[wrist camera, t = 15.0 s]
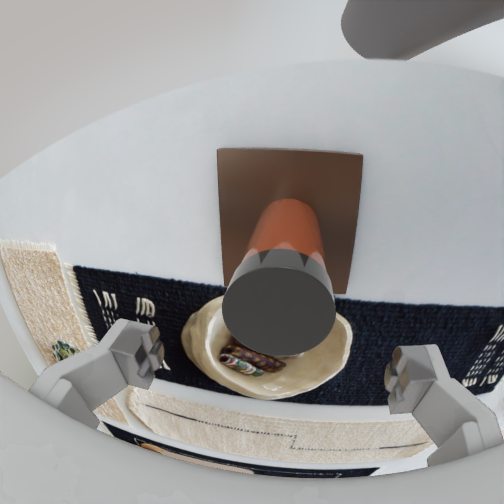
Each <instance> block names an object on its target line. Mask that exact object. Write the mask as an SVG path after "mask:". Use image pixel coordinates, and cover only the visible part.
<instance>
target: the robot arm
mask: <svg viewBox="0 0 504 504" xmlns="http://www.w3.org/2000/svg"><path fill="white" fill-rule="evenodd" d="M159 335H160V333H159V330H158V327H155V326H152V325H148V324H143V323H139V322H134V321H129V320H125V319H119V320H117V321H116V322H115V323H114V325H113V326H112V327H111V329H110V330H109V331H108V332H107V334H106V335H105V336H104V338H103V339H102V340H101V341H100V343H99V344H98V345H97V346H92V347H89V348H87V349H85V350H83V351H81V352H79V353H77V354H75V355H73V356H71V357H68V358H66V359H64V360H62V361H60V362H58V363H56V364H54V365H51V366H49V367H47V368H45V370H44V371H43V372H42V373H41V375H40V376H39V377H38V379H37V380H36V381H35V382H34V384H33V385H32V386H31V388H30V389H29V390H28V391H27V390H25V389H24V388H23V387H21V386H20V385H18V384H17V383H16V382H14V381H13V380H11V379H10V378H9V377H7V376H6V375H5V374H3V373H2V372H1V371H0V504H504V440H503V437H502V433H501V430H500V427H499V424H498V421H497V418H496V415H495V413H494V412H493V411H492V410H491V409H489V408H488V407H487V406H486V405H485V404H484V403H483V402H481V401H480V400H479V399H478V398H477V397H475V396H474V395H473V394H472V393H471V392H470V391H468V390H467V389H466V388H465V387H464V386H462V385H461V384H460V383H459V382H458V381H457V380H455V379H454V378H453V379H451V378H450V376H449V373H448V370H447V368H446V365H445V363H444V360H443V358H442V356H441V353H440V351H439V348H438V346H437V345H435V344H433V345H416V346H397V347H396V348H395V350H394V352H393V358H394V359H393V360H392V361H391V362H389V363H388V366H387V368H386V372H385V387H386V389H387V390H388V391H389V392H390V393H391V394H390V396H389V397H388V404H389V410H390V414H402V413H412V415H413V416H414V418H415V419H416V420H417V421H418V423H419V424H420V425H421V426H422V428H423V429H424V430H425V431H426V433H427V434H428V435H429V437H430V438H431V439H432V440H433V442H434V443H435V444H436V445H437V447H438V449H437V450H436V451H434V452H433V453H432V454H431V455H430V456H429V457H428V458H427V463H428V467H426V468H421V469H416V470H411V471H405V472H399V473H392V474H385V475H377V476H367V477H354V478H329V479H313V478H288V477H274V476H264V475H256V474H248V473H241V472H235V471H229V470H223V469H218V468H213V467H208V466H204V465H199V464H195V463H191V462H187V461H183V460H180V459H176V458H172V457H169V456H166V455H162V454H159V453H156V452H153V451H150V450H147V449H144V448H141V447H138V446H136V445H133V444H130V443H128V442H125V441H123V440H120V439H118V438H115V437H113V436H110V435H108V434H106V433H104V432H101V431H99V430H97V427H98V425H99V423H100V422H99V419H98V418H97V417H96V415H95V414H94V413H93V412H92V411H93V410H94V409H96V408H97V407H99V406H100V405H101V404H103V403H104V402H106V401H107V400H109V399H110V398H112V397H113V396H114V395H116V394H117V393H119V392H120V391H121V390H123V389H124V388H126V387H127V386H128V385H131V386H135V387H139V388H143V389H146V390H148V389H149V387H150V385H151V383H152V381H153V379H154V378H155V374H154V371H155V370H156V369H158V368H160V366H161V364H162V362H163V358H164V347H163V343H162V342H161V341H160V340H159V339H158V337H159Z"/></svg>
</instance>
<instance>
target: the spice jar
mask: <svg viewBox="0 0 504 504" xmlns="http://www.w3.org/2000/svg"><path fill="white" fill-rule="evenodd" d="M222 314H223V319H224V322H225V324H226V326H227V328H228V330H229V331H230V332H231V334H232V335H233V336H234V337H235V338H236V339H237V340H238V341H239V342H240V343H242V344H243V345H245V346H246V347H248V348H250V349H252V350H254V351H257V352H260V353H263V354H267V355H274V356H290V355H296V354H300V353H303V352H306V351H308V350H310V349H312V348H314V347H316V346H317V345H319V344H320V343H321V342H322V341H323V340H324V339H325V338H326V337H327V336H328V334H329V333H330V331H331V330H332V327H333V325H334V322H335V317H336V308H335V301H334V294H333V288H332V283H331V280H330V278H329V276H328V270H327V264H326V258H325V252H324V246H323V240H322V235H321V229H320V224H319V220H318V217H317V215H316V214H315V212H314V211H313V209H312V208H311V207H310V206H308V205H307V204H305V203H304V202H302V201H299V200H296V199H280V200H277V201H275V202H272V203H271V204H269V205H268V206H267V207H266V208H265V209H264V210H263V211H262V213H261V215H260V217H259V219H258V221H257V224H256V226H255V229H254V231H253V234H252V236H251V238H250V241H249V243H248V246H247V248H246V251H245V253H244V255H243V258H242V260H241V263H240V265H239V266H238V268H237V269H236V270H235V272H234V274H233V276H232V279H231V281H230V283H229V286H228V288H227V290H226V293H225V295H224V298H223V303H222Z"/></svg>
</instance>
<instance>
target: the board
mask: <svg viewBox="0 0 504 504" xmlns="http://www.w3.org/2000/svg"><path fill="white" fill-rule="evenodd" d="M362 166H363V155H362V154H360V153H350V152H339V151H326V150H311V149H289V148H220V149H217V168H218V191H219V211H220V229H221V246H222V261H223V276H224V286H227V287H228V286H229V283H230V281H231V279H232V276H233V274H234V272H235V270H236V269H237V268H238V266H239V265H240V263H241V260H242V258H243V255H244V253H245V251H246V248H247V246H248V243H249V241H250V238H251V236H252V234H253V231H254V229H255V226H256V224H257V221H258V219H259V217H260V215H261V213H262V211H263V210H264V209H265V208H266V207H267V206H268V205H269V204H271V203H272V202H275V201H277V200H280V199H296V200H299V201H302V202H304V203H305V204H307V205H308V206H310V207H311V208H312V209H313V211H314V212H315V214H316V215H317V217H318V220H319V224H320V229H321V235H322V240H323V246H324V252H325V258H326V264H327V270H328V276H329V278H330V280H331V283H332V288H333V294H346V290H347V284H348V279H349V273H350V267H351V261H352V255H353V248H354V241H355V234H356V227H357V219H358V210H359V201H360V191H361V179H362Z"/></svg>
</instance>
